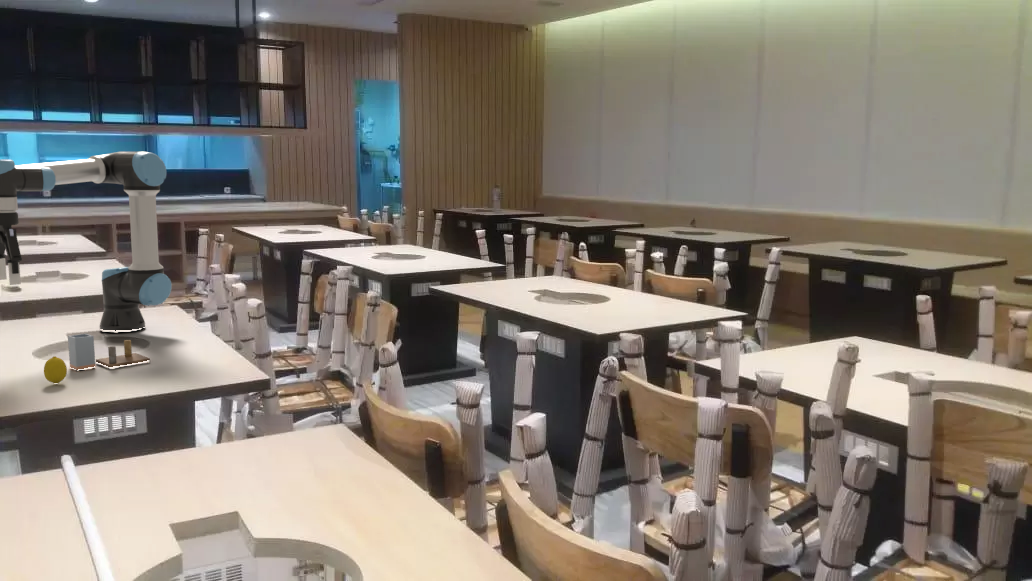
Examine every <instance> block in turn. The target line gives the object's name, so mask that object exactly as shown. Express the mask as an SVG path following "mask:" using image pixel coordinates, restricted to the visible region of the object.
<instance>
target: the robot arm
mask: <svg viewBox="0 0 1032 581" xmlns="http://www.w3.org/2000/svg"><path fill="white" fill-rule="evenodd" d="M166 179H167V166H166V164H165V162H164V160H162V158H161V157H160V156H159V155H157V154H156V153H153V152H148V151H143V150H142V151H141V150H140V151H117V152H116V151H115V152H110V153H105V154H99V155H91V156H89V157H88V158H87V159H85V158H84V159H75V160H74V159H73V160H72V159H71V160H61V161H50V162H49V161H48V162H38V163H26V164H25V163H24V164H15V160H13V159H0V281H2V280H8V279H9V280H8V281H9V286H14V285H16V286H17V285H21V284H22V283H21V270H20V267H21V266H20V262H22V261H23V260H22V259H23V258H22V254H21V249H20V245H19V241H18V235H17V229H16V228H13V227H12V226H16V225H18V224H19V223H20V222H19V213H18V212H17V211H18V210H19V208H18V196H17V193H18V192H49V191H51V190H53V189H54V188H55V186H58V185H68V184H69V185H70V184H78V183H86V182H87V183H88V182H93V183H94V184H117V185H123V191H124V192H125V193H126V194H127V195H128V202H129V219H130V220H129V221H130V223H129V224H130V239H131V240H130V241H131V242H130V243H131V258H132V259H131V261H132V263H131V264H130V265H129V266H122V267H115V268H114V267H112V268H106V269H104V270H102V273H101V287H102V299H103V300H102V302H103V312H102V315H101V319H100V322H99V330H100V329H103V330H115V331H116V330H132V329H139V328H143V327H145V328H146V322H145V318H144V317H143V314H142V312H141V309H140V305H143V306H148V307H149V306H158V305H161V304H163V303H164V302H166V300H167V299H168V298H169V297H170V295H171V293H172V287H173V286H172V281H171V278H169V276H167V274H165V272H164V271H165V268H164V266H163V265H162V264H161V263H160V262H159V261H160V258H159V240H158V238H159V236H158V220H157V218H158V217H157V197H156V196H157V194H158V193H160V191H161V185H162V184H163V183H164V182H165V180H166ZM5 253H6V254H5ZM7 258H8V259H7ZM6 259H7V260H6ZM6 263H7V264H8V266H6ZM7 267H8V278H7Z"/></svg>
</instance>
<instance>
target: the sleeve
mask: <svg viewBox="0 0 1032 581" xmlns="http://www.w3.org/2000/svg"><path fill="white" fill-rule="evenodd" d="M94 339H95V336H94V335H93V334H92V335H91V334H89V333H79V334H72V335H67V342H68V356H69V368H70V367H71V368H74V369H76V370H78V369H84V368H88V367H94V366H95V367H96V355H95V354H96V353H95V340H94Z"/></svg>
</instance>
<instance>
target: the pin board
mask: <svg viewBox="0 0 1032 581" xmlns="http://www.w3.org/2000/svg"><path fill="white" fill-rule="evenodd" d="M123 346H124V349H123V351H124V354H121V355H117V349H116V348H117V347H116V346H115V345H112V346H108V347H107V349H108V351H107V352H108V356H107V357H101V358H95V363H96V362H98V363H101V364H103V365H106V366H108V367H113V366H120V365H127V364H132V363H138V362H143V361H147V360H150V361H151V358H150V357H149V356H148V357H147V356H145V355H142V354H139V353H137V352H132V351H133V350H132V340H131V339H126V340H125V339H124V340H123Z"/></svg>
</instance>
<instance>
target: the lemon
mask: <svg viewBox="0 0 1032 581" xmlns="http://www.w3.org/2000/svg"><path fill="white" fill-rule="evenodd" d="M67 373H68V369H67V364H66V362H65V361H64V359H62V358H60V357H57V356H55V355H54V356H52V357H50V358H49V359H47V360H46V361H45V362H44V366H43V374H44V377H45V379H46V380H47V381H48V382H50V383H53V384H54V383H58V384H60V382H62V381H63V380H65V378H66V376H67Z"/></svg>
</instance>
